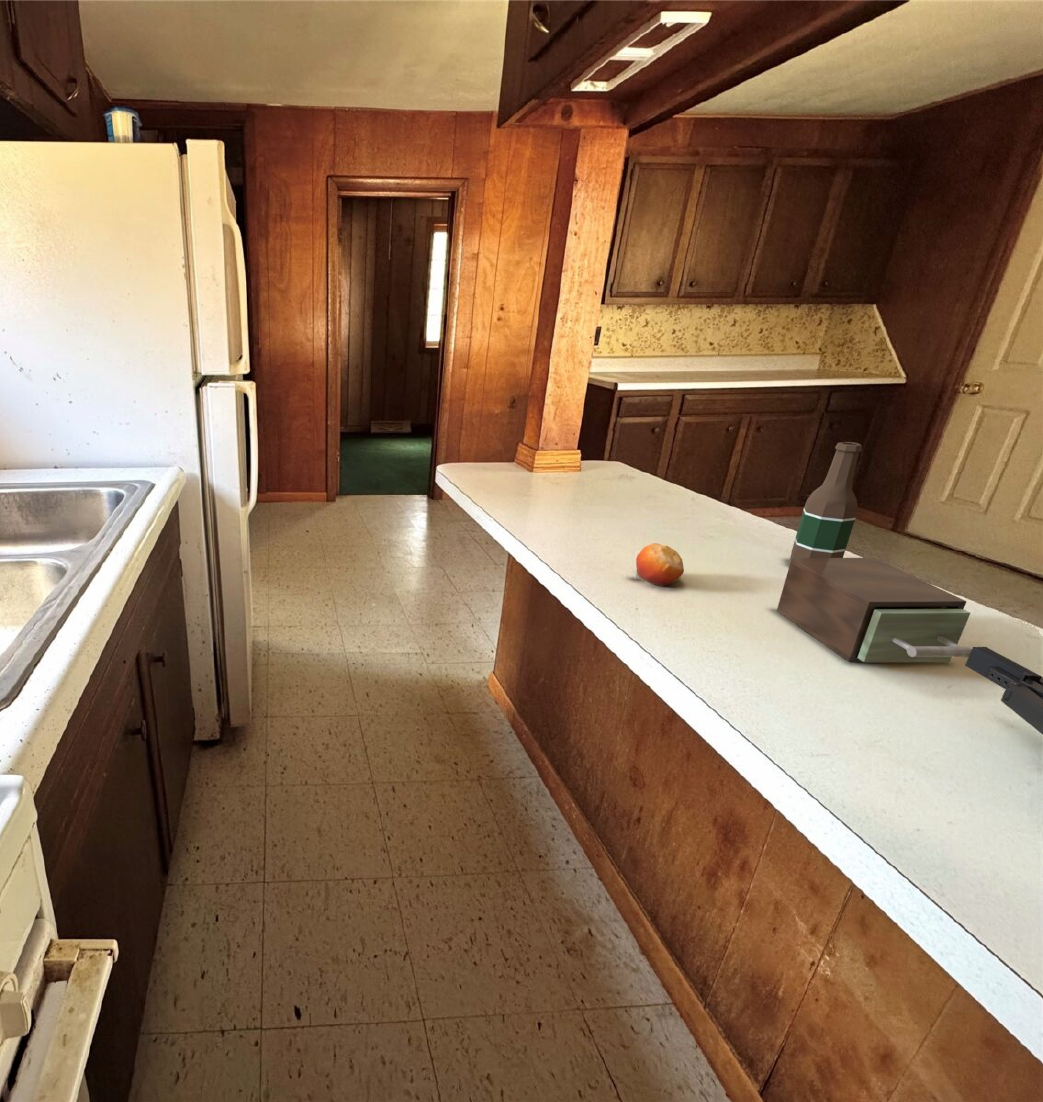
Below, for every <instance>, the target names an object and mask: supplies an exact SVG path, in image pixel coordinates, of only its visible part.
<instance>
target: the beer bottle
mask: <svg viewBox="0 0 1043 1102" xmlns="http://www.w3.org/2000/svg"><path fill="white" fill-rule="evenodd" d="M834 449H836V450H835V453H834V456H833V459H832V461H831V464H830V467H829V469H828V472H827V474H826V477H825V478H824V480H823V482H822V484H821V485H820V486H819V487H817V488H816V489H815V490H813V491H812V492H811V494H810V495H809V496H808V497H807V498H806V502H805V504H804V507H803V510H802V513H801V518H800V520H799V524H798V528H797V531H796V535H795V538H794V541H793V545H792V548H791V553H790V557H789V561H791V559H792V558H844V555H845V553H846V549H847V548H848V547H847V546H848V544H849V540H850V537H851V534H852V531H853V528H854V524H855V521H856V518H857V514H858V509H859V507H858V499H857V497H856V495H855V493H854V491H853V481H854V477H855V472H856V469H857V464H858V459H859V455H860V452H862V451H863V445H862V444H861V443H859V442H853V441H852V442H851V441H841V442H840V441H839V442H837V444H836V446H835V447H834Z"/></svg>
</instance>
